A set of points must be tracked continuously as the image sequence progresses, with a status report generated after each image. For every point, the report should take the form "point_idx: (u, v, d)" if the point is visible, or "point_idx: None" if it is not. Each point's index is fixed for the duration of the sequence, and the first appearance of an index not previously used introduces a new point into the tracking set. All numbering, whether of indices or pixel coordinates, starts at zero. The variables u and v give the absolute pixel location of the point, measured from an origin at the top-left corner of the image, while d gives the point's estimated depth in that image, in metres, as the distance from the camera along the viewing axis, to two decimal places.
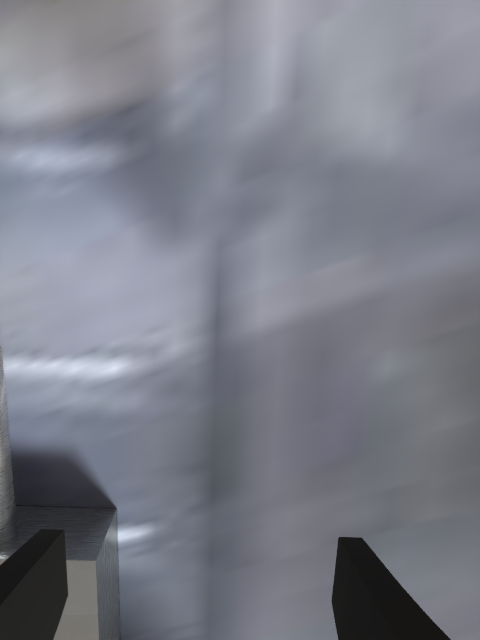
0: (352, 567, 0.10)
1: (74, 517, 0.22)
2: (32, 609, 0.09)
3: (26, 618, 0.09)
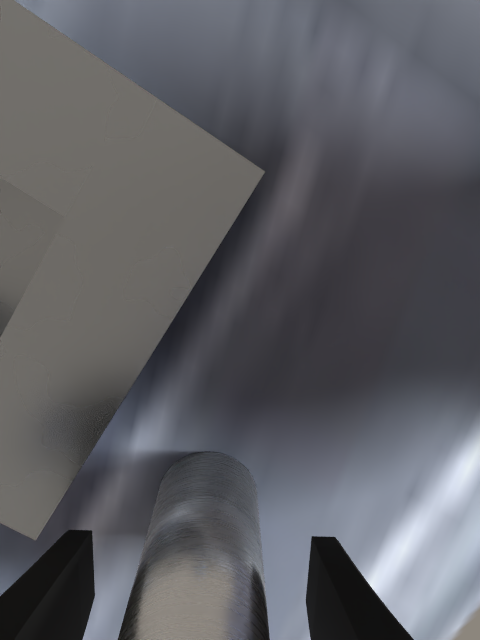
0: (322, 566, 0.10)
1: None
2: (64, 610, 0.09)
3: (59, 618, 0.09)
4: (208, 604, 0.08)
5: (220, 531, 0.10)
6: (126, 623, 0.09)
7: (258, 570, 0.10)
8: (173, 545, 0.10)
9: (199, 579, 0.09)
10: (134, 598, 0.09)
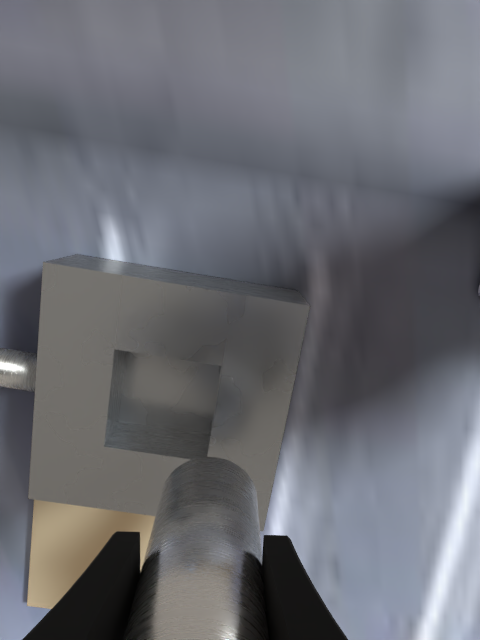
0: (268, 565, 0.10)
1: None
2: (120, 611, 0.10)
3: (116, 620, 0.09)
4: (200, 605, 0.09)
5: (214, 533, 0.11)
6: (126, 632, 0.09)
7: (254, 567, 0.11)
8: (168, 552, 0.10)
9: (192, 582, 0.09)
10: (133, 607, 0.10)
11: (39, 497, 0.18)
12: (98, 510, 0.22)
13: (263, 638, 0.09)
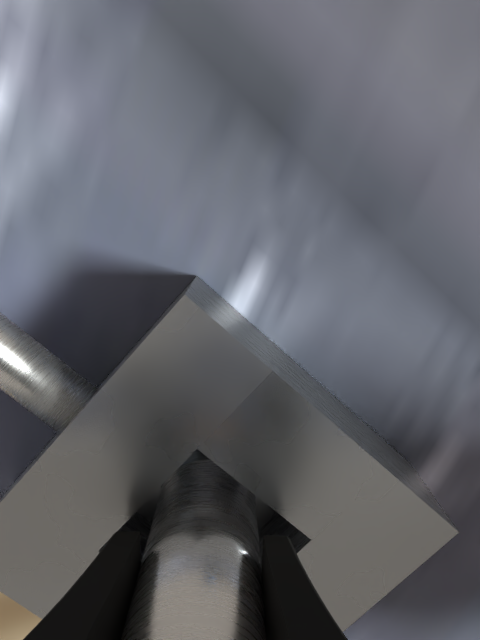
0: (268, 565, 0.10)
1: (154, 324, 0.13)
2: (120, 611, 0.10)
3: (117, 620, 0.09)
4: (202, 613, 0.09)
5: (215, 539, 0.11)
6: (124, 635, 0.09)
7: (254, 576, 0.10)
8: (169, 556, 0.10)
9: (194, 588, 0.09)
10: (132, 610, 0.09)
11: None
12: None
13: None
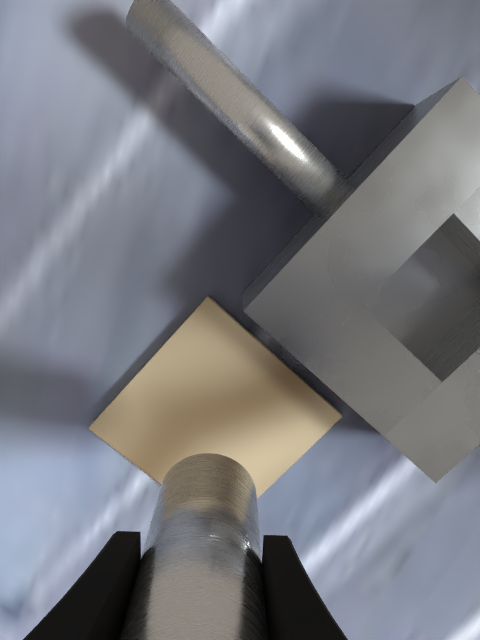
0: (268, 565, 0.10)
1: (386, 140, 0.16)
2: (121, 611, 0.10)
3: (117, 619, 0.09)
4: (212, 603, 0.09)
5: (223, 532, 0.11)
6: (129, 619, 0.09)
7: (258, 572, 0.10)
8: (176, 544, 0.10)
9: (203, 578, 0.09)
10: (137, 595, 0.09)
11: (254, 317, 0.15)
12: (239, 373, 0.19)
13: None
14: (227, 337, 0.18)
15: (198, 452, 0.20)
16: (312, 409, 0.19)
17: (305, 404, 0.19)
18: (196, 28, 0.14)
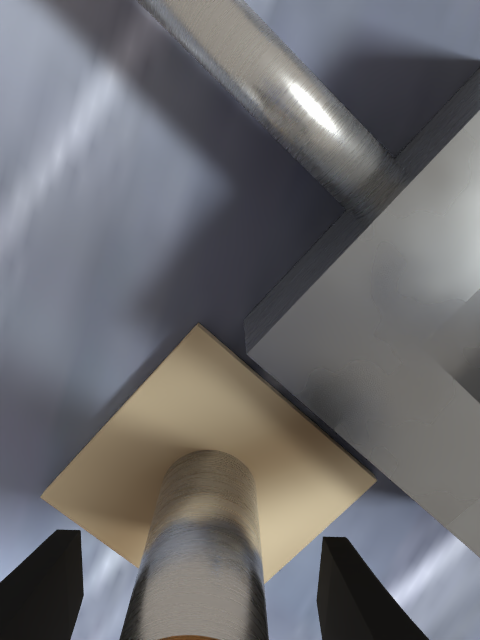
0: (334, 566, 0.10)
1: (448, 108, 0.12)
2: (51, 609, 0.09)
3: (45, 618, 0.09)
4: (212, 594, 0.09)
5: (223, 526, 0.11)
6: (132, 610, 0.09)
7: (258, 565, 0.11)
8: (178, 538, 0.10)
9: (204, 570, 0.09)
10: (140, 587, 0.10)
11: (263, 362, 0.10)
12: (240, 426, 0.14)
13: (266, 635, 0.09)
14: (225, 379, 0.14)
15: None
16: (337, 472, 0.14)
17: (328, 465, 0.14)
18: None
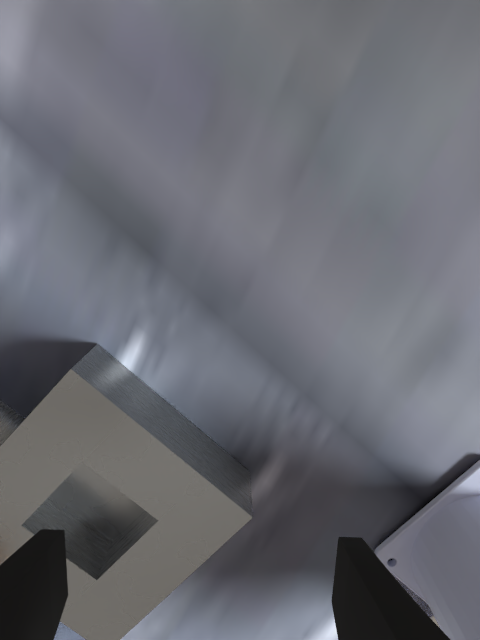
0: (352, 567, 0.10)
1: None
2: (32, 609, 0.09)
3: (26, 618, 0.09)
4: None
5: None
6: None
7: None
8: None
9: None
10: None
11: None
12: None
13: None
14: None
15: None
16: None
17: None
18: None
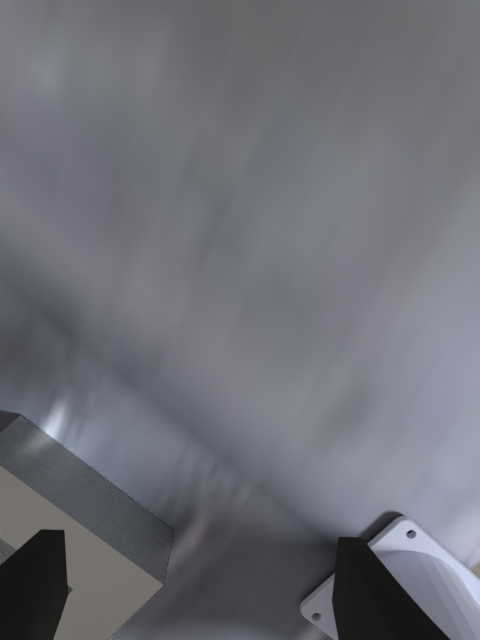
0: (352, 567, 0.10)
1: None
2: (32, 609, 0.09)
3: (26, 618, 0.09)
4: None
5: None
6: None
7: None
8: None
9: None
10: None
11: None
12: None
13: None
14: None
15: None
16: None
17: None
18: None
